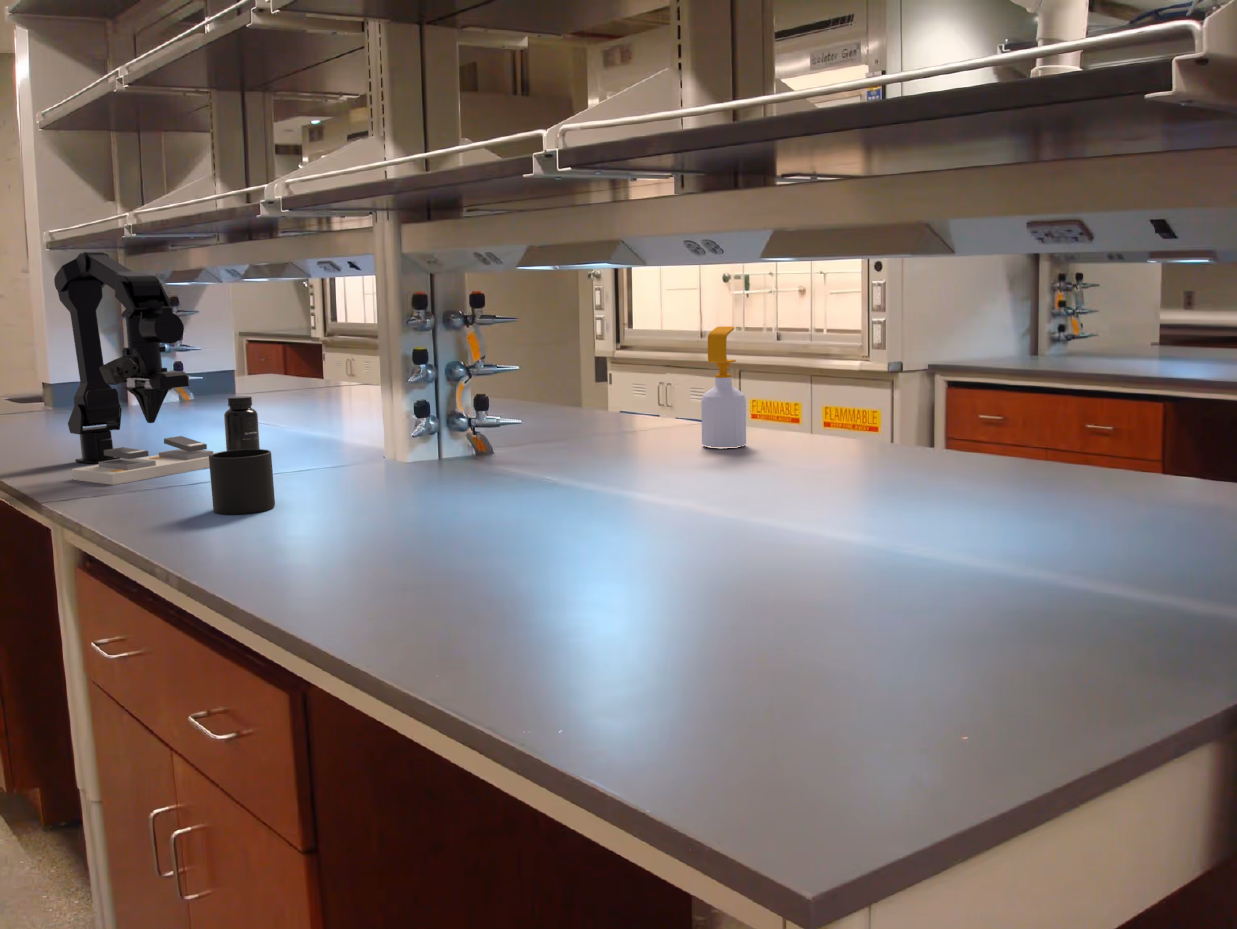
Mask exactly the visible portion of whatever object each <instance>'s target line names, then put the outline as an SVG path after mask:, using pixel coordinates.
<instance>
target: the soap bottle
mask: <svg viewBox="0 0 1237 929" xmlns="http://www.w3.org/2000/svg"><path fill="white" fill-rule="evenodd" d="M734 330H735V327H734V326H716V327H715V328H714V329H712V330H711V331H710V332H709V333H708V335H707V360H708V363H710V364H711V363H712V364H715V363H716V365H715V366H716V368H718V369H719V370H718V373H717V374H715V375H714V377H715V378H714V386H713V387H712V388H710V389H709V390H707V391H706V392H705V393H703V395H702V398H701V402H700V403H701V404H700V407H701V411H700V412H701V445H702V444H703V445H706V446H711V447H737V446H742V445H744V444H746V445H747V399H746V396H745V394H744V393H743V392H742V391H741V390H739V389H738V388H736V387H735V386H733V385H732V382H733V381H732V374H730V373H728V368H730V367H731V364H732V363H736V361H737V359H728V358H727V339H728V336H729V335H730V333H732V332H734Z"/></svg>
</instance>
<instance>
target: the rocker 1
mask: <svg viewBox="0 0 1237 929" xmlns="http://www.w3.org/2000/svg"><path fill="white" fill-rule="evenodd" d="M104 455H105V456H112V457H118V458H125V459H134V458H135V459H137V458H143V457H149V456H150V455H149V450H144V449H137V448H129V447H116V448H113V449H108V450H104Z"/></svg>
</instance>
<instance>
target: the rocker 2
mask: <svg viewBox="0 0 1237 929" xmlns="http://www.w3.org/2000/svg"><path fill="white" fill-rule="evenodd" d="M163 444H165V445H168V446H170V447H173V448H176V449H182V450H185V451H188V452H193V451H199V450H207V448H208V447H207V446H208V444H207V443H204V442H201V441H199V440H194V439H192V438H190V437H189V438H188V437H186V436H183V435H179V436H173V437H166V438H165V437H164V438H163Z"/></svg>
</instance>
